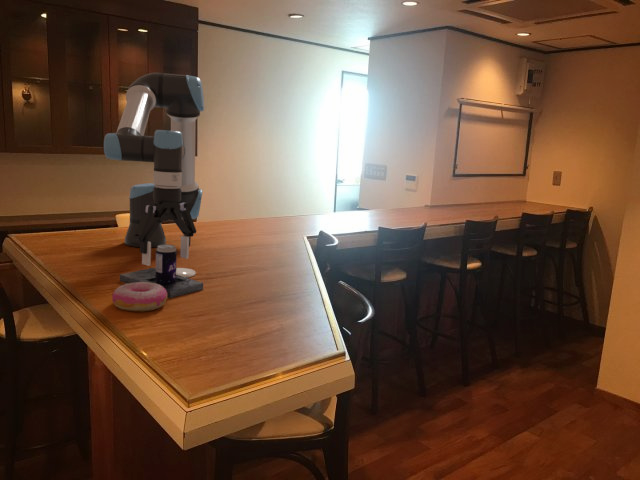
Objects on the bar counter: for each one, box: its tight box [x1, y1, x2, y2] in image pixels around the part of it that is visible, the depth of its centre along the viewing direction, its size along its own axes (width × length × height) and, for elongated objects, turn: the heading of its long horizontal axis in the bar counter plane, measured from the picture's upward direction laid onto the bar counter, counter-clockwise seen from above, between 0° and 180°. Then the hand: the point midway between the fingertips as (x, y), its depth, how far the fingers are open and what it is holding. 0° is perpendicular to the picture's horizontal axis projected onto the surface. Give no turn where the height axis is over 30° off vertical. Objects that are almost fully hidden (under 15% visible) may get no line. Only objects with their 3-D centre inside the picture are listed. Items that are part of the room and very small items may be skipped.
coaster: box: [176, 267, 196, 278], centre depth 165 cm, size 10×10×1 cm
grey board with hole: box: [119, 267, 204, 299], centre depth 152 cm, size 22×12×2 cm, turn 56°
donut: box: [111, 282, 168, 312], centre depth 134 cm, size 14×13×5 cm
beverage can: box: [155, 244, 178, 286], centre depth 150 cm, size 6×6×12 cm
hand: (166, 261), depth 149 cm, fingers open, 13 cm apart
